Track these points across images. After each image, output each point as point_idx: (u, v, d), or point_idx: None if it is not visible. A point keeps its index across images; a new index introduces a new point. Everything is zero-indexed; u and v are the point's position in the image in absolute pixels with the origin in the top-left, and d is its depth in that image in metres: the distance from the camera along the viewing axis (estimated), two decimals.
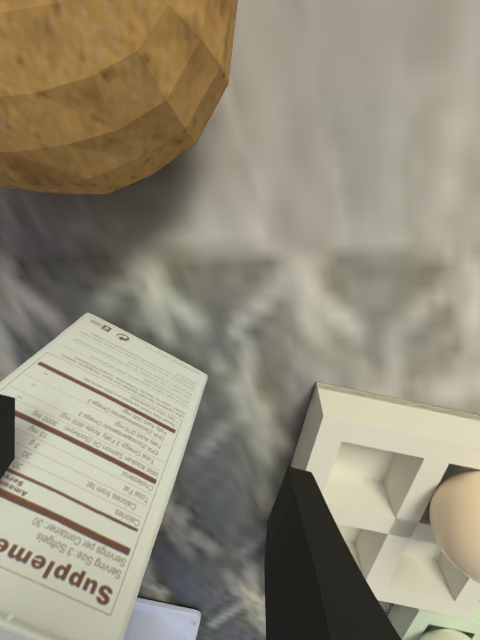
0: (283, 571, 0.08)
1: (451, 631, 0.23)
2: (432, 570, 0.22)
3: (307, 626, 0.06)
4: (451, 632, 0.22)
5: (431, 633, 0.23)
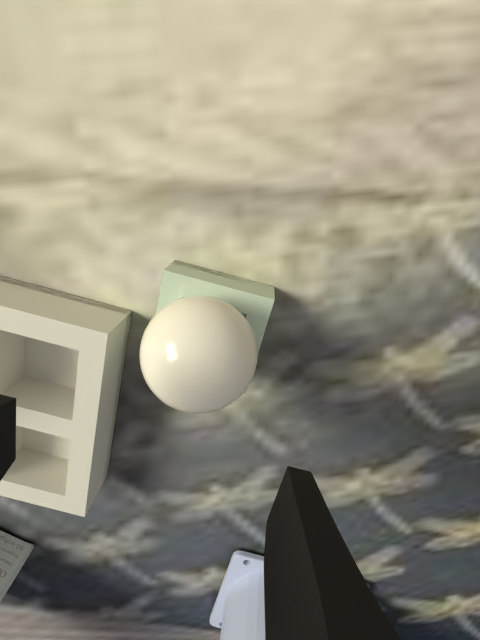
0: (282, 571, 0.08)
1: None
2: None
3: (306, 626, 0.06)
4: None
5: None
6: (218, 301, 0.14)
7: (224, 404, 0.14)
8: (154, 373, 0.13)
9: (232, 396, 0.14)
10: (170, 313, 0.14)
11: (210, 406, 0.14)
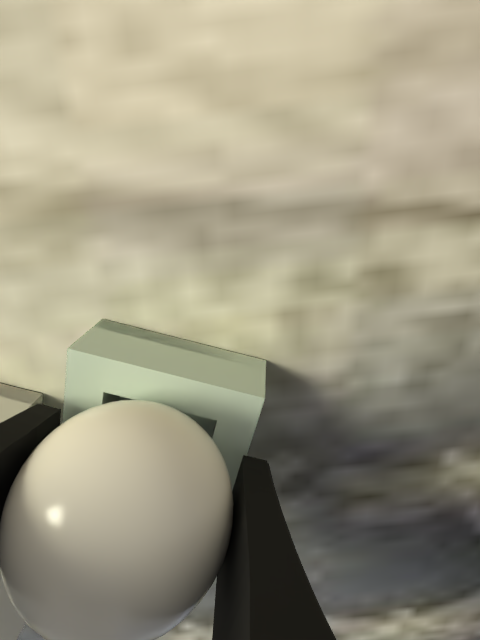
0: (229, 557, 0.08)
1: None
2: None
3: (238, 609, 0.06)
4: None
5: None
6: (154, 423, 0.07)
7: None
8: (10, 595, 0.06)
9: (179, 622, 0.07)
10: (49, 463, 0.07)
11: None
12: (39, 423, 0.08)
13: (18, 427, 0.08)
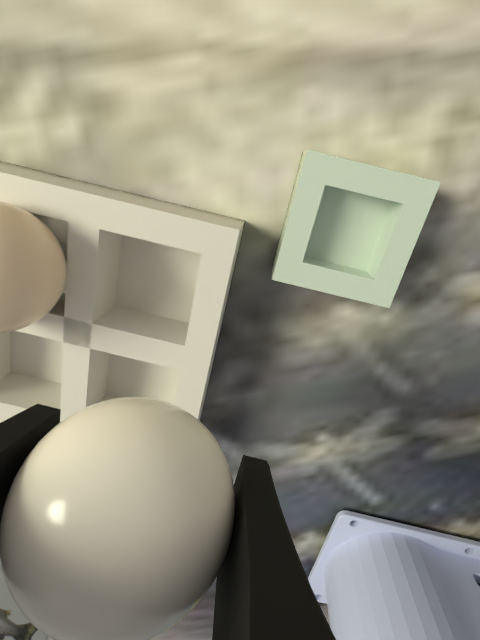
0: (229, 558, 0.08)
1: None
2: None
3: (238, 609, 0.06)
4: None
5: None
6: (156, 420, 0.07)
7: (166, 629, 0.07)
8: (11, 590, 0.06)
9: (180, 619, 0.07)
10: (51, 459, 0.07)
11: None
12: (39, 423, 0.08)
13: (18, 427, 0.08)
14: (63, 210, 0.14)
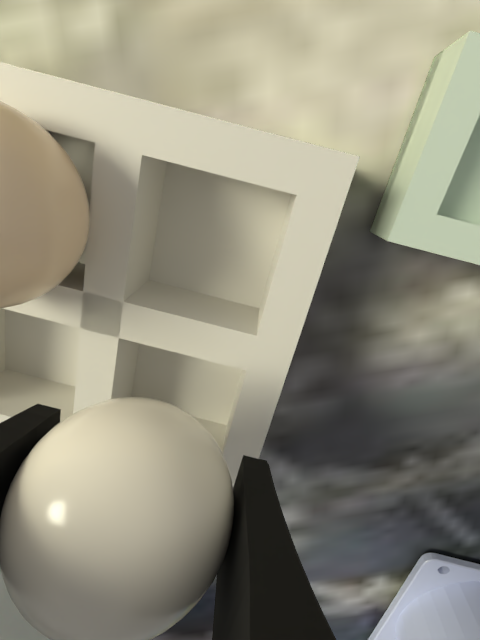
0: (229, 557, 0.08)
1: None
2: (287, 213, 0.11)
3: (238, 609, 0.06)
4: None
5: None
6: (155, 421, 0.07)
7: None
8: (10, 591, 0.06)
9: (179, 620, 0.07)
10: (50, 459, 0.07)
11: None
12: (39, 423, 0.08)
13: (18, 427, 0.08)
14: (88, 124, 0.09)
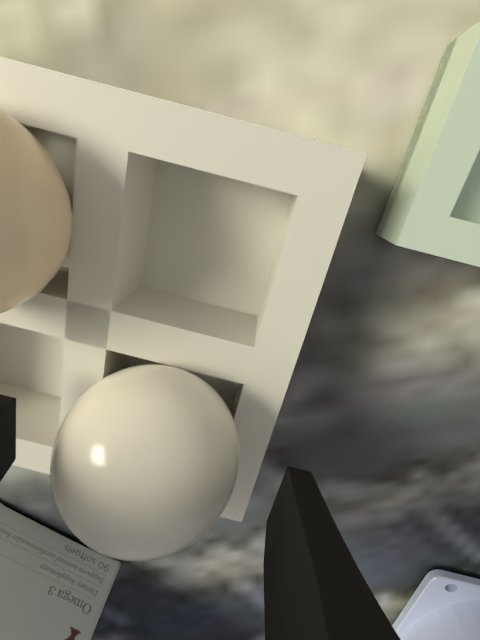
0: (282, 570, 0.08)
1: None
2: (287, 214, 0.10)
3: (306, 626, 0.06)
4: None
5: None
6: (176, 381, 0.09)
7: None
8: (63, 511, 0.08)
9: (196, 539, 0.09)
10: (92, 409, 0.08)
11: (160, 556, 0.08)
12: None
13: None
14: (69, 117, 0.08)
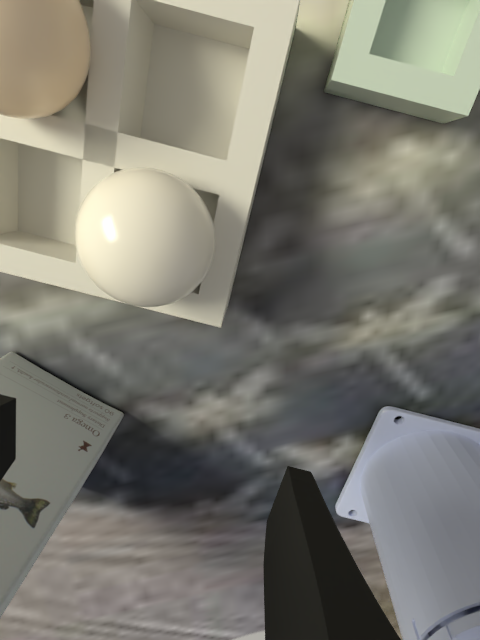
0: (282, 571, 0.08)
1: None
2: None
3: (306, 626, 0.06)
4: None
5: None
6: (166, 172, 0.12)
7: (172, 290, 0.12)
8: (85, 246, 0.11)
9: (180, 279, 0.12)
10: (106, 179, 0.11)
11: (154, 290, 0.12)
12: None
13: None
14: None
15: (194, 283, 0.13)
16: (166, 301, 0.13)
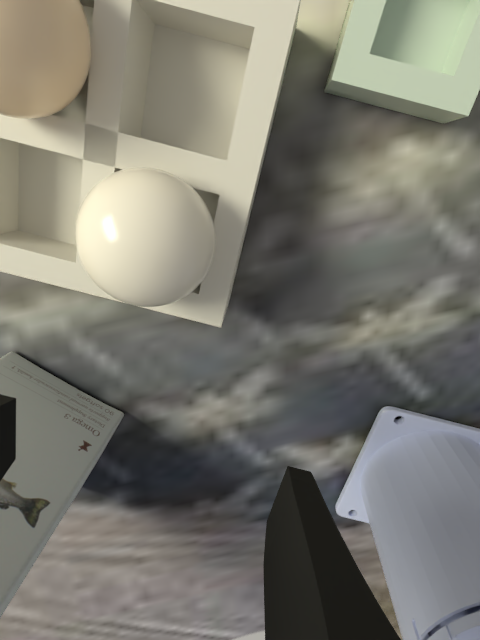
0: (282, 570, 0.08)
1: None
2: None
3: (306, 626, 0.06)
4: None
5: None
6: None
7: (172, 290, 0.12)
8: (85, 246, 0.11)
9: (181, 279, 0.12)
10: (106, 179, 0.12)
11: (154, 290, 0.12)
12: None
13: None
14: None
15: (194, 283, 0.13)
16: (166, 301, 0.13)
